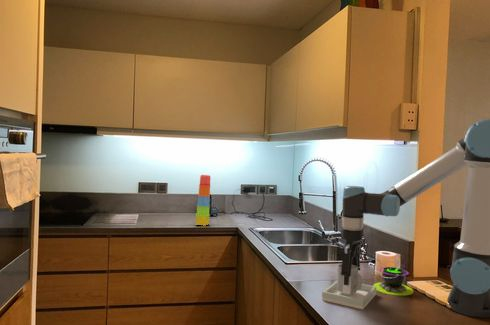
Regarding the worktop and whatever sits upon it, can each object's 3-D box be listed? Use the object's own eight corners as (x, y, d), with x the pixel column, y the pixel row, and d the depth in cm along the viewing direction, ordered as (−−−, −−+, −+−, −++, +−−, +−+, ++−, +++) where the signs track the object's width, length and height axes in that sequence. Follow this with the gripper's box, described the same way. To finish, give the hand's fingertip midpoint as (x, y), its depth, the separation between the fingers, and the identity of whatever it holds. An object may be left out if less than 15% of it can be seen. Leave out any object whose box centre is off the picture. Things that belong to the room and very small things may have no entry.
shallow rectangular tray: (376, 294, 154) (376, 286, 154) (362, 309, 139) (363, 300, 139) (338, 286, 162) (338, 279, 162) (322, 300, 147) (322, 291, 147)
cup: (345, 285, 156) (346, 262, 156) (367, 293, 148) (368, 269, 148) (332, 289, 152) (333, 265, 152) (354, 297, 144) (355, 272, 144)
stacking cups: (195, 223, 286) (196, 174, 285) (210, 224, 287) (211, 174, 285) (194, 226, 276) (195, 175, 274) (209, 227, 276) (210, 175, 275)
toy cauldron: (368, 282, 169) (369, 255, 169) (404, 283, 169) (405, 256, 169) (380, 295, 154) (381, 266, 154) (419, 296, 154) (421, 267, 154)
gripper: (350, 223, 160) (348, 281, 161) (333, 231, 143) (330, 296, 144) (370, 225, 156) (367, 285, 157) (354, 234, 139) (351, 300, 140)
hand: (350, 290), depth 151 cm, fingers closed on cup, 7 cm apart
